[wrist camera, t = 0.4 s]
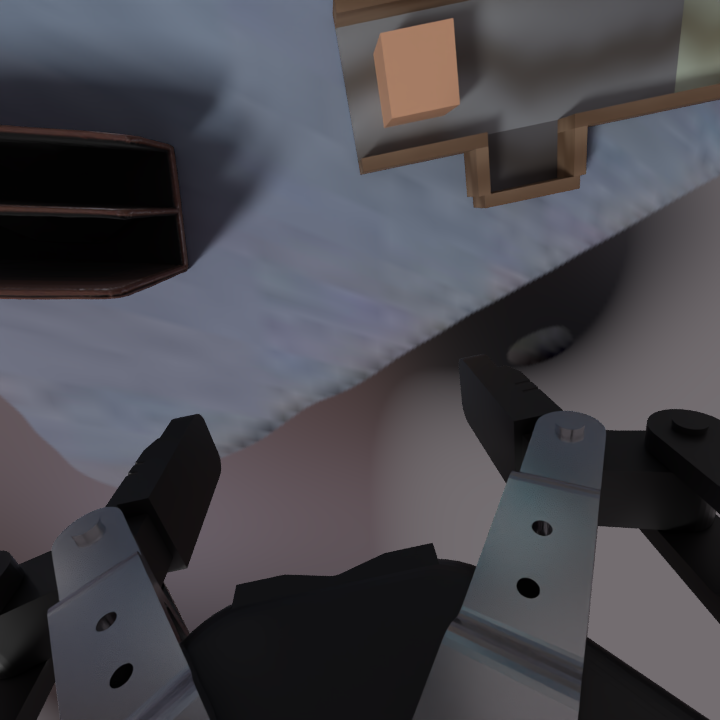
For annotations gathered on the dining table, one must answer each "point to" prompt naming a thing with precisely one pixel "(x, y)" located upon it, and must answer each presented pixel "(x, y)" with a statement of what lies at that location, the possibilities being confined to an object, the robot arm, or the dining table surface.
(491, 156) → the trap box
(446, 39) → the block
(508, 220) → the dining table surface
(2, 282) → the letter holder
